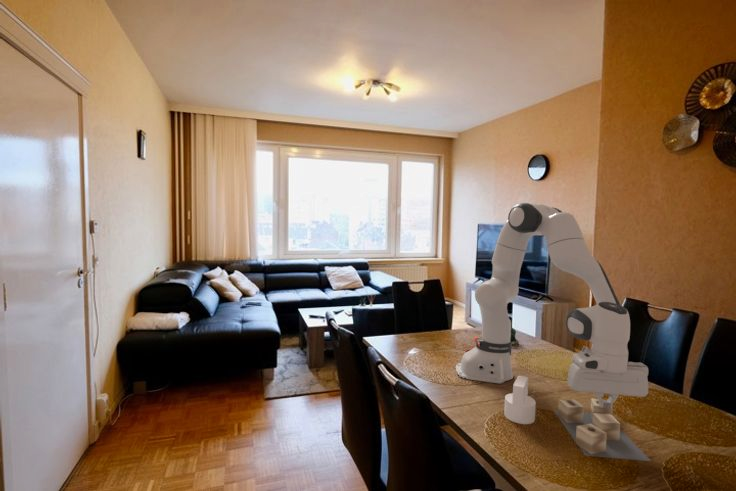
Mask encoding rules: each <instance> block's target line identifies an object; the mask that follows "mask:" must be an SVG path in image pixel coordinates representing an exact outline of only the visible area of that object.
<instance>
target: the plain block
mask: <svg viewBox="0 0 736 491" xmlns="http://www.w3.org/2000/svg"><path fill="white" fill-rule="evenodd" d="M592 425H594V426H596V427H597V428H599V429H601V430H602V431H604V432H606V433H607V438H606V440H615V441H619V438H620V429H621V423H620V421H618V420H617V419H616V418H615V416H613V414H612V415H611V414H598V413H593V424H592Z"/></svg>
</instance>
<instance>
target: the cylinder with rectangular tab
mask: <svg viewBox="0 0 736 491" xmlns="http://www.w3.org/2000/svg"><path fill="white" fill-rule="evenodd" d="M528 389H529V377H528V376H525V375H518V376H517V378H515V381H514V382H513V385H512V393H508V394H506V395H505V396H504V410H503V411H504V412H503V414H504V416H505V417H506V419H507V420H508V421H511V422H513V423H517V424H520V425H531V424H533V423H534V422H535V420H536V404H537V403H536V402H537V401H536V400H535V399H534V398H533V397H531V396H529V394H528V393H529V392H528V391H529V390H528Z"/></svg>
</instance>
